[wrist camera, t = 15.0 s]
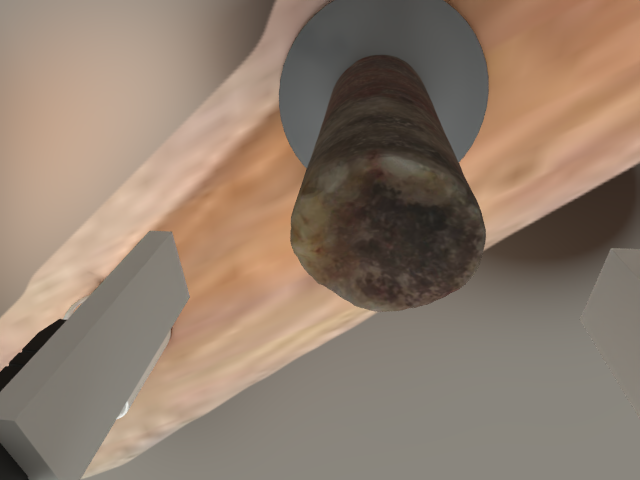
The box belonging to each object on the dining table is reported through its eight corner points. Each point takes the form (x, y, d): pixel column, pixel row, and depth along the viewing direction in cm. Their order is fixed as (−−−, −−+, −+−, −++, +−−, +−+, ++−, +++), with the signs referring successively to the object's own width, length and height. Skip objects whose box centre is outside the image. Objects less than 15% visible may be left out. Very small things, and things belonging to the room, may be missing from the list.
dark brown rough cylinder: (439, 133, 31) (508, 299, 15) (354, 166, 34) (328, 342, 17) (408, 35, 28) (450, 103, 11) (315, 79, 30) (236, 191, 14)
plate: (273, -11, 29) (269, -11, 28) (505, -20, 27) (510, -21, 26) (289, 190, 37) (286, 196, 36) (466, 195, 35) (468, 201, 34)
